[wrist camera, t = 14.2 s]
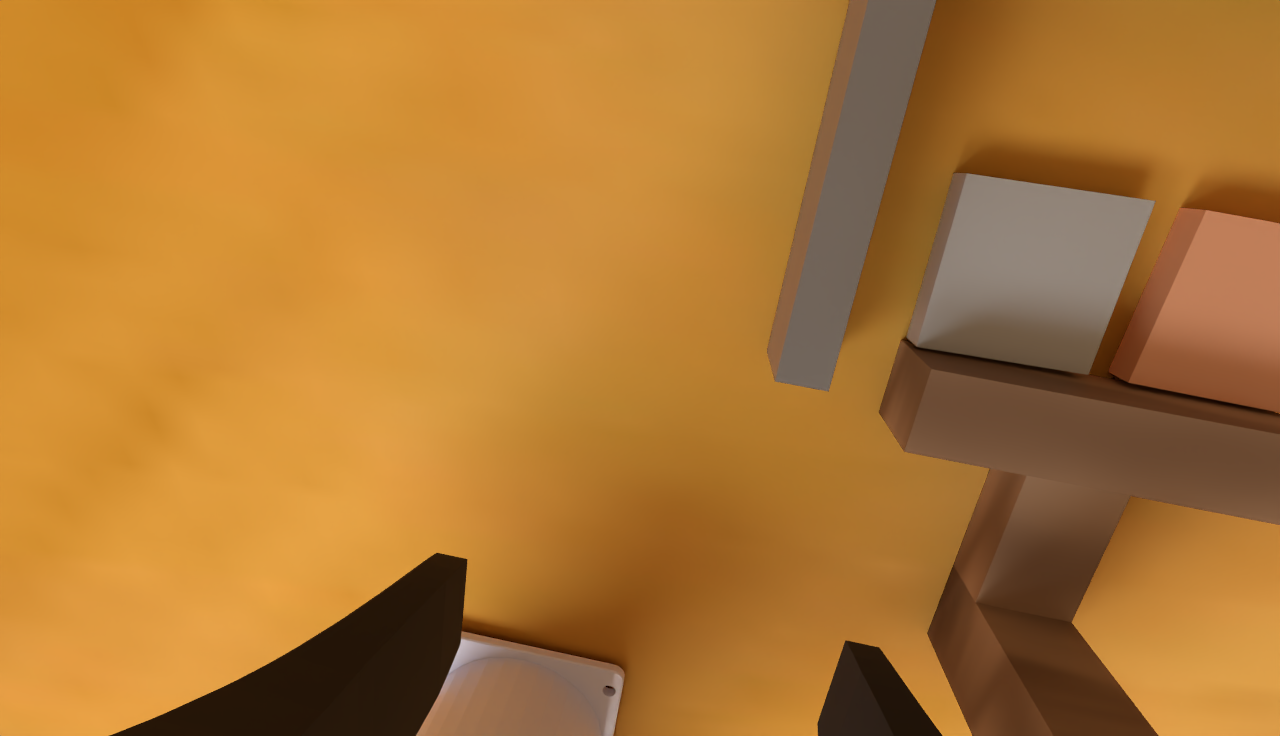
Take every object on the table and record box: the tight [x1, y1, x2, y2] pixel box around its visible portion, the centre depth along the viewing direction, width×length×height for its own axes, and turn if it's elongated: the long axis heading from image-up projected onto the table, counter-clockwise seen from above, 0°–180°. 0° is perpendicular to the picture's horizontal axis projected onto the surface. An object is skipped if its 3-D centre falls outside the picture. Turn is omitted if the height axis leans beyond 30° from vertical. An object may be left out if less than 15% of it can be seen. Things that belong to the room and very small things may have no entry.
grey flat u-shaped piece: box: [767, 0, 936, 391], centre depth 16 cm, size 14×19×3 cm
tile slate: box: [906, 173, 1156, 375], centre depth 19 cm, size 5×5×2 cm
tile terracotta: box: [1108, 208, 1280, 413], centre depth 18 cm, size 5×5×2 cm
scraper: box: [879, 340, 1280, 736], centre depth 17 cm, size 10×11×9 cm
